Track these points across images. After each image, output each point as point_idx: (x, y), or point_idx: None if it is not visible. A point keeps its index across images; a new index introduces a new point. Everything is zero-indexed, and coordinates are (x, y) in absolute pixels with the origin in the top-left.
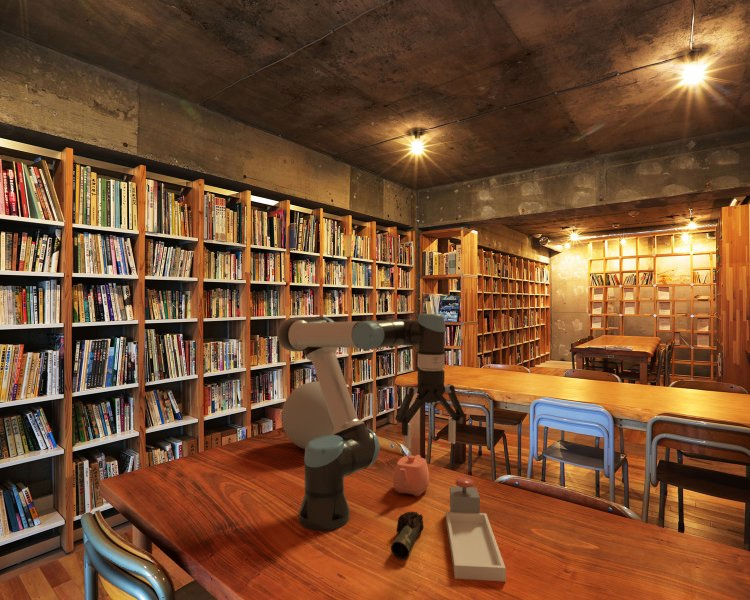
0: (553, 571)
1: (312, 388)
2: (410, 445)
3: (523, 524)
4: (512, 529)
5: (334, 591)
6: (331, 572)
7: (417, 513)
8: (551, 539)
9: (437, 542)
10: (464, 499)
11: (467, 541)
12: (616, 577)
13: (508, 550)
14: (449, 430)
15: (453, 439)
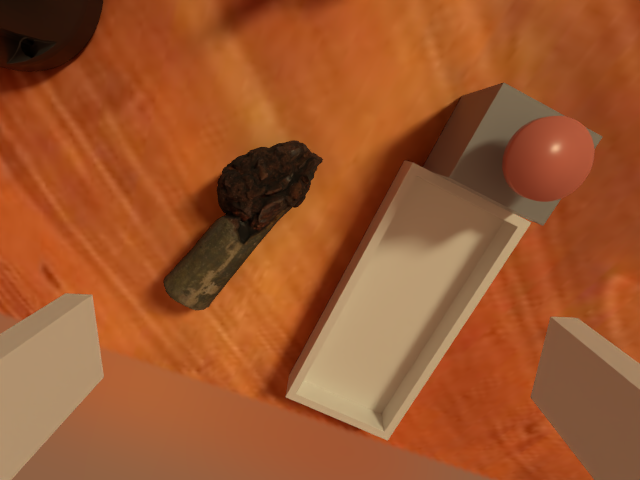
0: (503, 421)
1: None
2: (83, 394)
3: (616, 249)
4: (564, 259)
5: None
6: (28, 257)
7: (304, 152)
8: (614, 333)
9: (326, 239)
10: (487, 197)
11: (396, 282)
12: None
13: (474, 332)
14: (635, 417)
15: (559, 430)
